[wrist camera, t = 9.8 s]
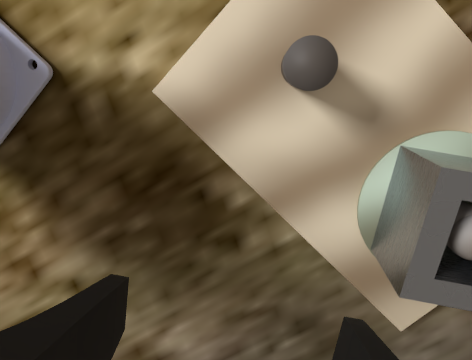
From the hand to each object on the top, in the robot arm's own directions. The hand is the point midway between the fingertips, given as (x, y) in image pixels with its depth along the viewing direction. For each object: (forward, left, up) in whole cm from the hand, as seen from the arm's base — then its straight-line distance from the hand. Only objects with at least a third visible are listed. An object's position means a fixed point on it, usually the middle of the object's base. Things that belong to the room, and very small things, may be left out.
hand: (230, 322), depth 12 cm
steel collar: (+6, +8, -8) cm, 13 cm away
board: (+1, +8, -9) cm, 12 cm away
